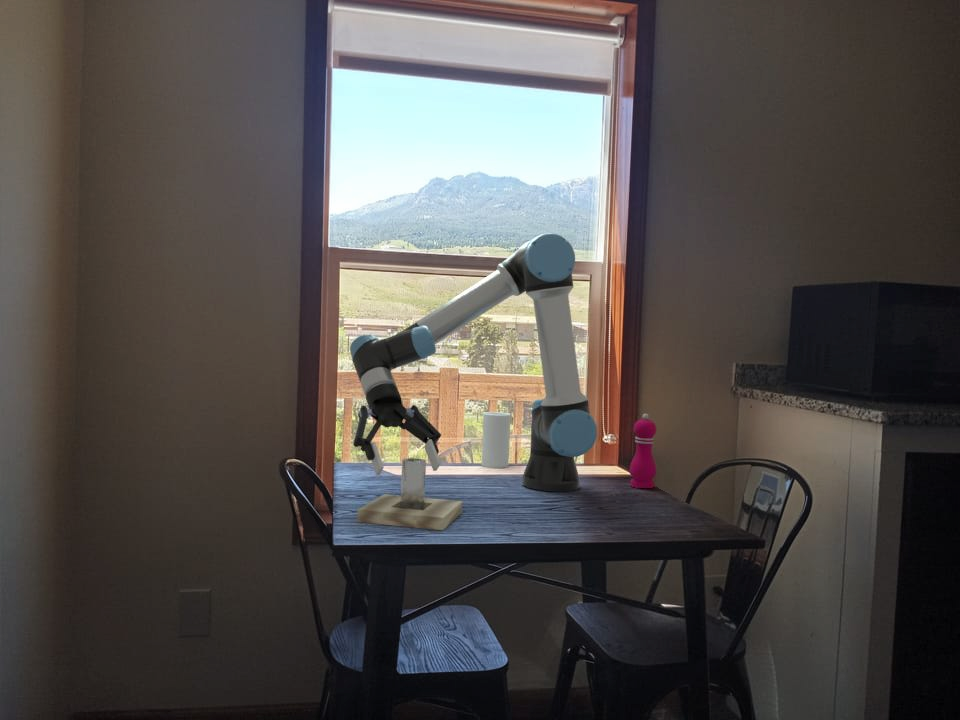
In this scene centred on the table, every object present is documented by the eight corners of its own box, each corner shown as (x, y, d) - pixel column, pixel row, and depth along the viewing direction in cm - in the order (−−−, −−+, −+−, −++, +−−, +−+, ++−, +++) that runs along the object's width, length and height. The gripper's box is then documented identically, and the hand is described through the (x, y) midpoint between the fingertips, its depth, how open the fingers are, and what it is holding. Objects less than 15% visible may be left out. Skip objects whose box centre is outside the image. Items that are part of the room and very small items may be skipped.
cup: (508, 468, 218) (511, 415, 218) (481, 467, 218) (483, 414, 218) (508, 464, 226) (510, 412, 226) (481, 462, 227) (483, 411, 226)
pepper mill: (647, 484, 203) (651, 412, 202) (660, 489, 196) (664, 415, 195) (624, 484, 201) (627, 412, 200) (636, 489, 194) (639, 414, 193)
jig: (462, 512, 160) (462, 501, 160) (442, 530, 144) (443, 517, 144) (384, 505, 164) (384, 494, 163) (357, 521, 148) (357, 509, 148)
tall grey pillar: (426, 515, 156) (428, 458, 156) (419, 520, 151) (422, 462, 151) (404, 513, 157) (406, 456, 157) (396, 518, 152) (399, 460, 152)
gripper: (423, 402, 175) (453, 475, 163) (324, 403, 162) (348, 483, 150) (435, 381, 171) (466, 455, 159) (334, 381, 157) (360, 462, 145)
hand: (409, 469), depth 154 cm, fingers open, 13 cm apart
